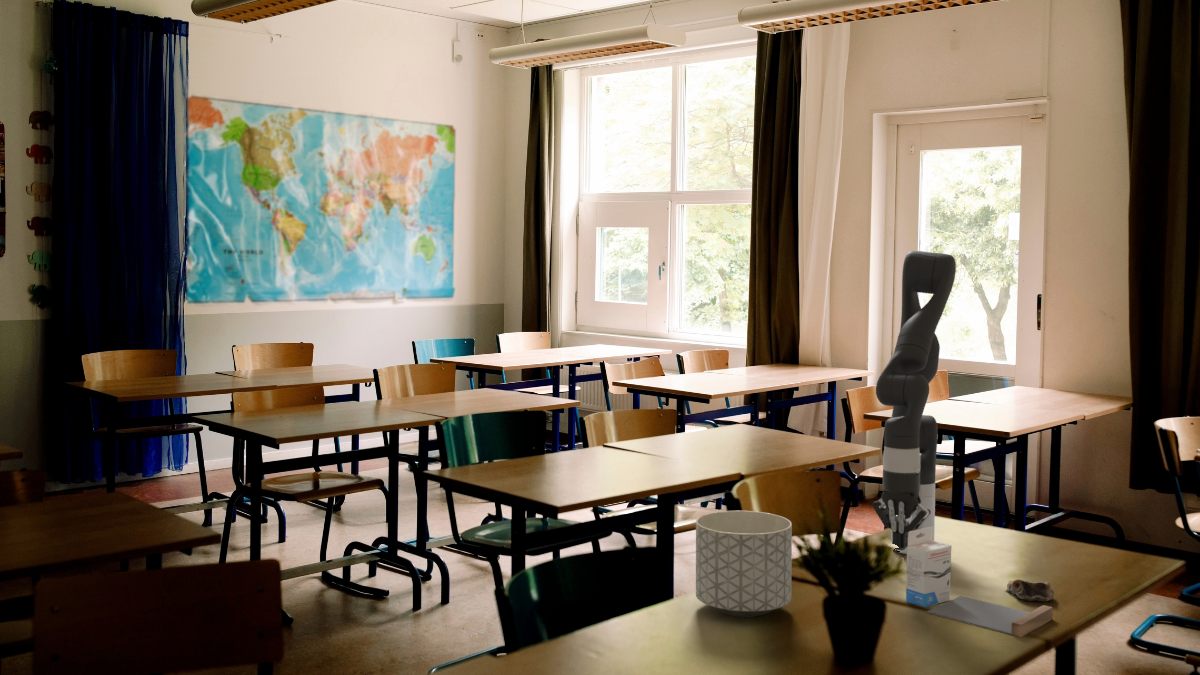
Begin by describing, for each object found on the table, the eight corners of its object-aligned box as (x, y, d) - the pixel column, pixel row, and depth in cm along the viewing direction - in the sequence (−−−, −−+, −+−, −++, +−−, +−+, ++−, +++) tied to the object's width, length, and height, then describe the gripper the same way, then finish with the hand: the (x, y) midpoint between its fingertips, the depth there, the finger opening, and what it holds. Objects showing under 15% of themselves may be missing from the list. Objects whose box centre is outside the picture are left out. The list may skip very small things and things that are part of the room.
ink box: (925, 608, 204) (926, 536, 203) (905, 601, 208) (906, 531, 207) (951, 600, 209) (952, 530, 208) (931, 594, 213) (932, 525, 212)
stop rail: (1011, 634, 189) (1011, 622, 188) (1043, 617, 198) (1043, 605, 198) (1021, 637, 187) (1021, 624, 187) (1052, 619, 197) (1052, 607, 197)
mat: (927, 612, 201) (927, 611, 201) (960, 597, 211) (960, 595, 210) (1010, 634, 189) (1010, 633, 189) (1042, 616, 198) (1042, 615, 198)
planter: (802, 625, 194) (803, 532, 193) (704, 628, 193) (704, 535, 192) (778, 594, 213) (778, 509, 212) (688, 596, 212) (689, 511, 210)
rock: (1061, 605, 206) (1044, 581, 215) (1056, 580, 204) (1039, 557, 214) (1017, 614, 207) (1003, 590, 217) (1012, 589, 206) (998, 566, 215)
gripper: (863, 466, 213) (862, 546, 214) (921, 474, 204) (919, 559, 205) (882, 461, 219) (881, 540, 220) (939, 469, 209) (938, 552, 210)
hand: (900, 549), depth 212 cm, fingers closed
